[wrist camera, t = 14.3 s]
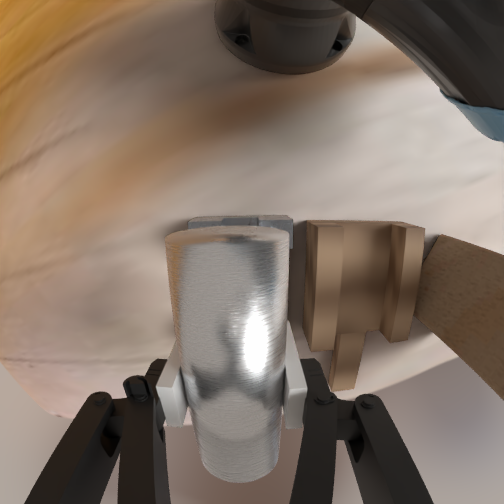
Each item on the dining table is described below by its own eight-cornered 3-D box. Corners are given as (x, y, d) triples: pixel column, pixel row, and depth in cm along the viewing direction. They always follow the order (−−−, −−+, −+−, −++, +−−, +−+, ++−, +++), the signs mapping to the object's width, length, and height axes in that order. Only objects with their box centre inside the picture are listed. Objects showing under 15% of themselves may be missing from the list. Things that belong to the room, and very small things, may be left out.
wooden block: (396, 300, 30) (504, 402, 10) (439, 231, 28) (572, 280, 8) (437, 331, 31) (525, 416, 12) (475, 272, 29) (579, 328, 10)
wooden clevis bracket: (306, 220, 28) (318, 227, 23) (400, 221, 28) (425, 228, 23) (297, 384, 32) (303, 411, 27) (376, 375, 32) (390, 397, 27)
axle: (175, 228, 13) (152, 248, 9) (275, 224, 14) (305, 243, 9) (201, 428, 17) (200, 483, 12) (271, 424, 17) (285, 477, 12)
